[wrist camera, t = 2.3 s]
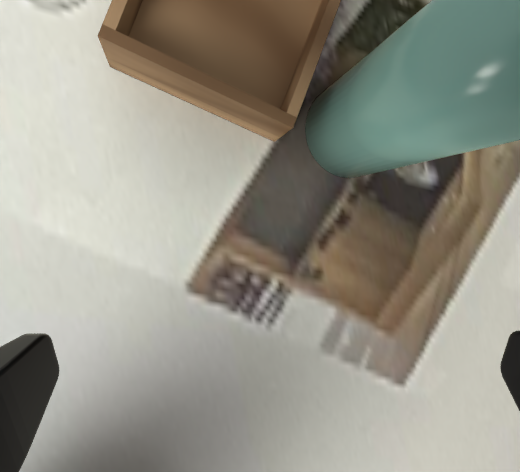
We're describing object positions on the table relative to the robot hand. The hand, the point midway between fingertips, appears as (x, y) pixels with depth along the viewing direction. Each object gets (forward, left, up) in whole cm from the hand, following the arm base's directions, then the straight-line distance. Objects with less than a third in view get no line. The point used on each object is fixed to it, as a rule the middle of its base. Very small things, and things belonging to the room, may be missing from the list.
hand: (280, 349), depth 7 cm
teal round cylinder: (+6, -8, -12) cm, 16 cm away
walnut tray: (+12, -2, -12) cm, 17 cm away
